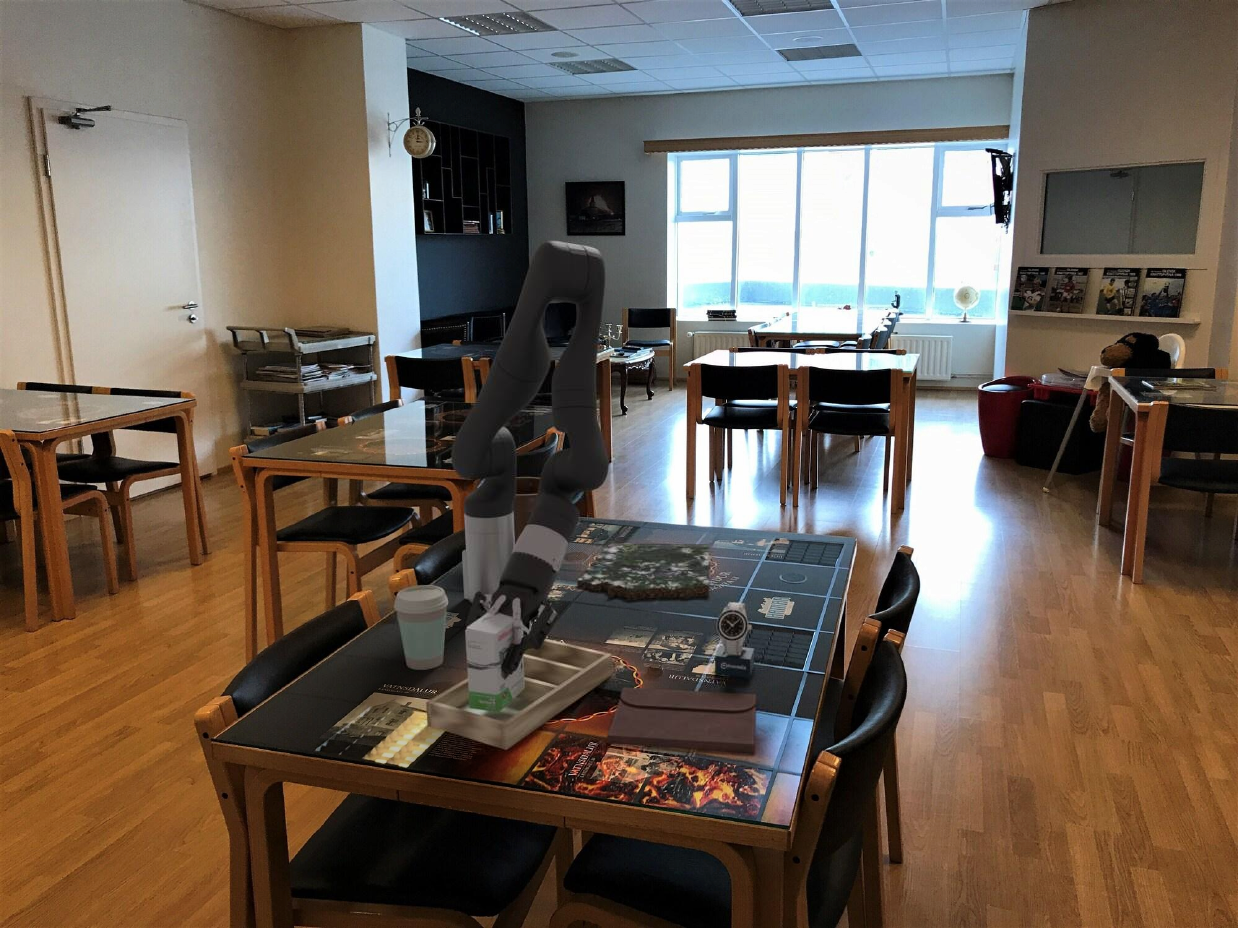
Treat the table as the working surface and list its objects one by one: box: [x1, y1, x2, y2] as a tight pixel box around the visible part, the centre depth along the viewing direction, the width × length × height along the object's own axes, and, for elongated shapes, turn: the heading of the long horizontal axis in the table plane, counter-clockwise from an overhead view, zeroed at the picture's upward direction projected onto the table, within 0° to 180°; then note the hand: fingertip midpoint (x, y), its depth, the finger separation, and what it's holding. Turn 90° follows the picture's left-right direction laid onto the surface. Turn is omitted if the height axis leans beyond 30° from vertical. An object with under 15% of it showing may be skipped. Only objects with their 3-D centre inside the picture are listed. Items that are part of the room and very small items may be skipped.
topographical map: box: [577, 542, 710, 601], centre depth 202 cm, size 26×33×3 cm
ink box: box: [464, 613, 525, 712], centre depth 138 cm, size 9×5×12 cm, turn 160°
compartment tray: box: [425, 638, 613, 751], centre depth 145 cm, size 14×27×4 cm, turn 149°
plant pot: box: [513, 476, 540, 544], centre depth 211 cm, size 16×16×16 cm
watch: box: [714, 601, 755, 679], centre depth 153 cm, size 6×8×11 cm
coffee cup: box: [393, 584, 449, 671], centre depth 158 cm, size 9×9×12 cm
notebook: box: [606, 687, 757, 754], centre depth 138 cm, size 15×20×2 cm
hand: (488, 667), depth 137 cm, fingers closed on ink box, 5 cm apart
